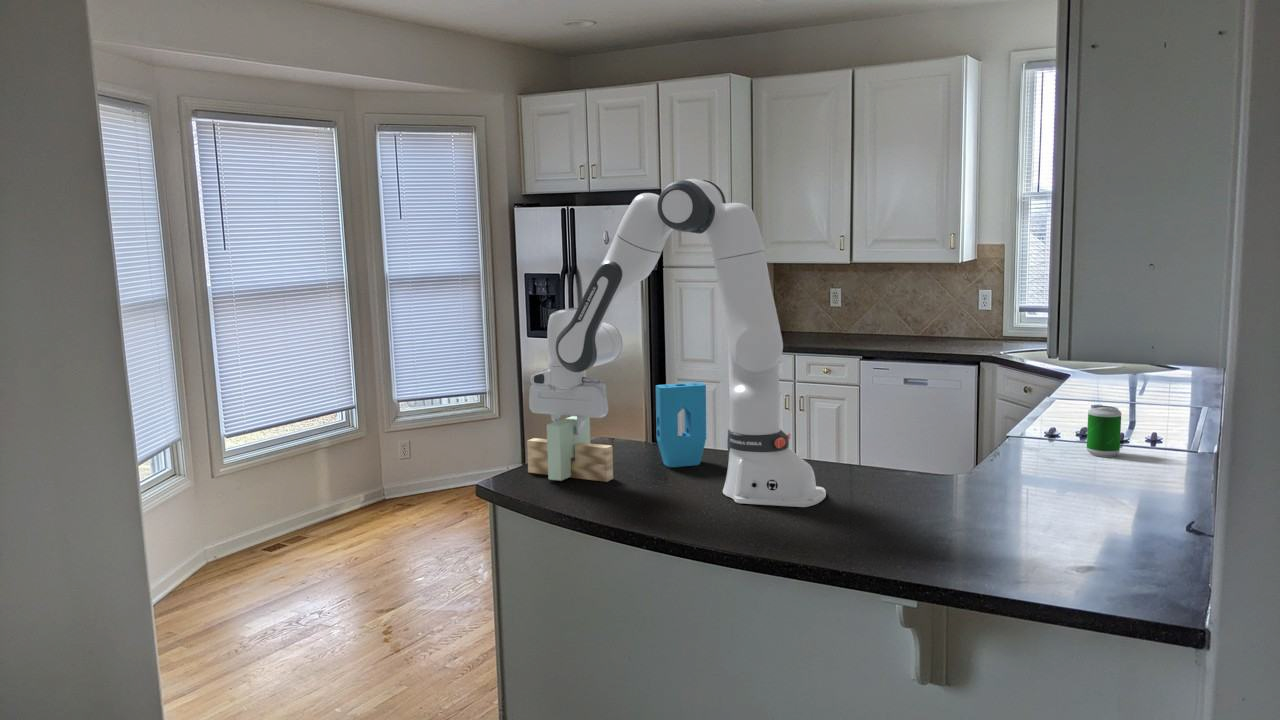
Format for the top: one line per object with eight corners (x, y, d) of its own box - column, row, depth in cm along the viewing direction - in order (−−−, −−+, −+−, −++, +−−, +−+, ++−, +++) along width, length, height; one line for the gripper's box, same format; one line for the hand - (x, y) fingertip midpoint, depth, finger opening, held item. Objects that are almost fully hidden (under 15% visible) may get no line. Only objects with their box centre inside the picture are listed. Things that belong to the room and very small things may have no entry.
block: (662, 468, 235) (660, 388, 232) (655, 463, 239) (654, 385, 237) (707, 464, 238) (707, 385, 235) (700, 459, 243) (700, 382, 240)
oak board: (613, 478, 226) (612, 445, 224) (606, 481, 223) (606, 448, 222) (534, 469, 235) (533, 438, 234) (528, 472, 233) (527, 440, 232)
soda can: (1123, 458, 236) (1125, 410, 234) (1090, 457, 238) (1092, 410, 236) (1114, 451, 243) (1116, 405, 242) (1082, 450, 245) (1085, 404, 243)
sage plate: (591, 467, 234) (589, 415, 233) (561, 480, 222) (559, 426, 220) (578, 465, 236) (577, 414, 234) (548, 479, 224) (546, 424, 222)
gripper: (612, 376, 224) (613, 434, 226) (538, 372, 233) (540, 427, 235) (599, 380, 218) (600, 439, 220) (524, 376, 228) (526, 432, 229)
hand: (569, 433), depth 228 cm, fingers closed on sage plate, 3 cm apart
